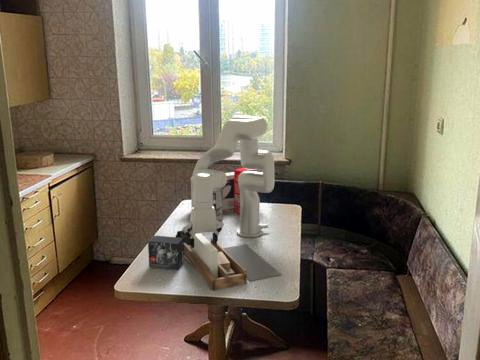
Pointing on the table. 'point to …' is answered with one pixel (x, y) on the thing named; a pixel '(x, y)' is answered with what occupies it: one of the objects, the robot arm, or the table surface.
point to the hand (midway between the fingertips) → (203, 245)
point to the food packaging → (236, 189)
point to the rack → (223, 277)
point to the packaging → (227, 192)
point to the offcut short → (223, 260)
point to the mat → (252, 263)
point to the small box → (165, 252)
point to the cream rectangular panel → (206, 253)
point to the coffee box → (218, 204)
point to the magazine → (183, 236)
